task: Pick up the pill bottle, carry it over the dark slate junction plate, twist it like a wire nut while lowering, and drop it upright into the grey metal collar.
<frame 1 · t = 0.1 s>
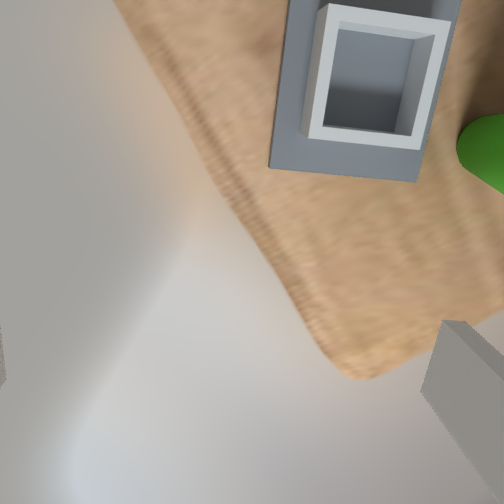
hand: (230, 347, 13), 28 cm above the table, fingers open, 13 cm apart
socket: (358, 82, 37), on the table
cup: (480, 144, 40), on the table
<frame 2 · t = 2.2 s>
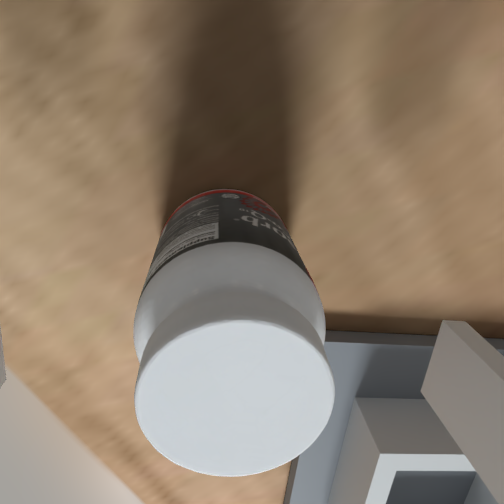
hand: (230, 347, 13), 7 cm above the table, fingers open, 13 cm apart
socket: (410, 451, 25), on the table
pill bottle: (224, 246, 19), on the table
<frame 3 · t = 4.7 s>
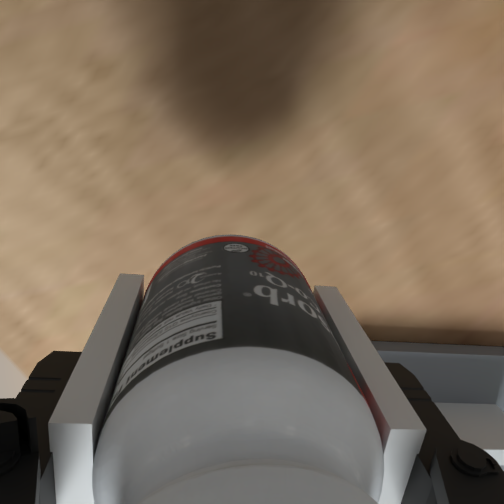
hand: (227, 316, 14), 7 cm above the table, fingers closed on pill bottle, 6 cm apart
socket: (394, 453, 27), on the table
pill bottle: (227, 303, 15), point 6 cm above the table, touching gripper
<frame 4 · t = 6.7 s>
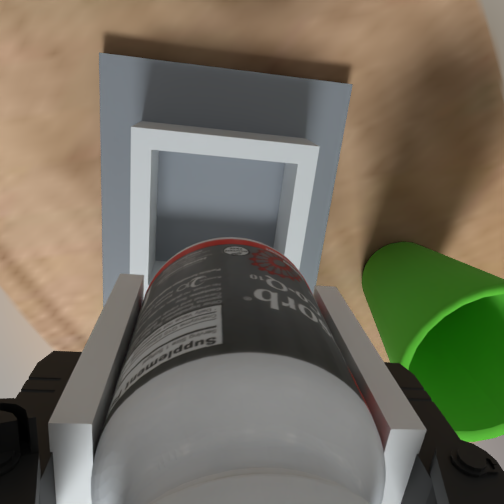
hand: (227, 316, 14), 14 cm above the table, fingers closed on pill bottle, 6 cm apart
socket: (218, 204, 27), on the table
cup: (394, 272, 30), on the table
pill bottle: (227, 306, 15), point 13 cm above the table, touching gripper
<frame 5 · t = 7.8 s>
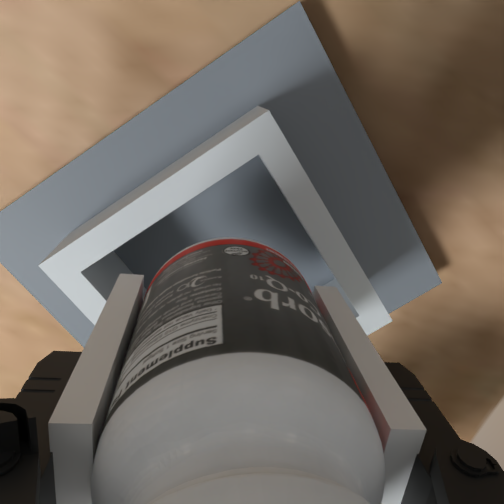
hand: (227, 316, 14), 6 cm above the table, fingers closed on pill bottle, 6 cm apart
socket: (224, 251, 20), on the table
pill bottle: (227, 306, 15), point 5 cm above the table, touching gripper
when the fingers open (5 cm above the table, at t = 8.8 s): pill bottle drops 4 cm, resting on socket.
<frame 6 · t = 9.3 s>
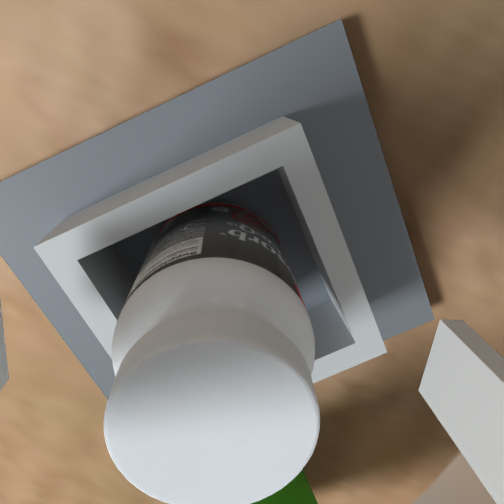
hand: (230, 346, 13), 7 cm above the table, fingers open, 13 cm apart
socket: (223, 257, 19), on the table
cup: (255, 470, 25), on the table
pill bottle: (216, 260, 18), point 1 cm above the table, touching socket
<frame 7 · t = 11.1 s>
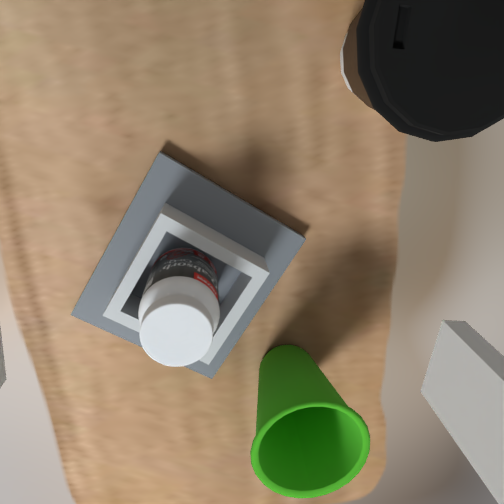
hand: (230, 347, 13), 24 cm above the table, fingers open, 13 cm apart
socket: (188, 272, 37), on the table
cup: (285, 364, 42), on the table
pill bottle: (184, 276, 36), point 1 cm above the table, touching socket
coffee cup: (377, 58, 33), on the table
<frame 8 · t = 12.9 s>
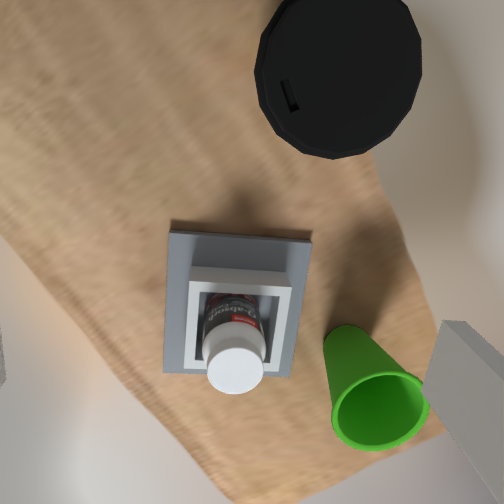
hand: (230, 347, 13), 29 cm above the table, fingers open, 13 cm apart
socket: (233, 306, 45), on the table
cup: (344, 342, 48), on the table
pill bottle: (231, 311, 44), point 1 cm above the table, touching socket
coffee cup: (303, 77, 37), on the table
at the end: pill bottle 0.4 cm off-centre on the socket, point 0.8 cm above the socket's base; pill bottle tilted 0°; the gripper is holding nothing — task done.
